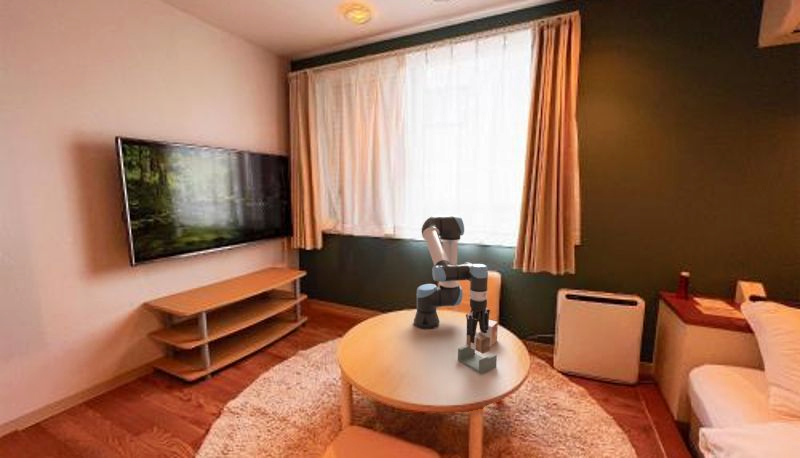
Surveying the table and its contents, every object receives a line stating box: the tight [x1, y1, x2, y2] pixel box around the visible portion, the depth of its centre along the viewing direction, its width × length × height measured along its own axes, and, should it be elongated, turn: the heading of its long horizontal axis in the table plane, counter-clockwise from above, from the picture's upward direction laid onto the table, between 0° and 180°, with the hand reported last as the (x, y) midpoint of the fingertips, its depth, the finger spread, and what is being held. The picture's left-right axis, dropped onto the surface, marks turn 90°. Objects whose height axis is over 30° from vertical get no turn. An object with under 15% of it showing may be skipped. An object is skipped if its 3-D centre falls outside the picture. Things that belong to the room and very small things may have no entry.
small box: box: [485, 319, 499, 347], centre depth 173 cm, size 8×6×10 cm
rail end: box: [466, 331, 491, 355], centre depth 151 cm, size 10×5×6 cm, turn 34°
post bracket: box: [457, 344, 498, 375], centre depth 153 cm, size 14×10×6 cm
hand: (477, 347), depth 152 cm, fingers closed on rail end, 4 cm apart
